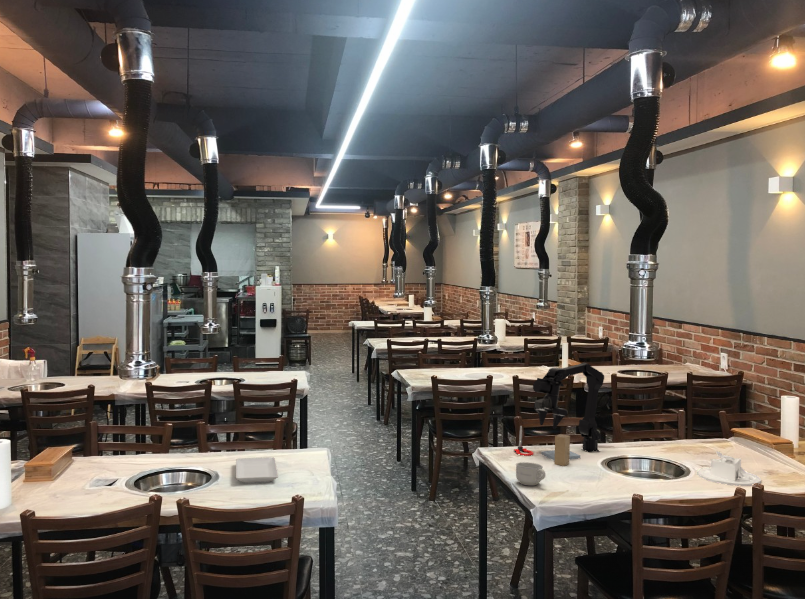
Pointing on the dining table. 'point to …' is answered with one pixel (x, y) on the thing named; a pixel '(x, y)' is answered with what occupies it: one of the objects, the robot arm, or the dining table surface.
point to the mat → (552, 455)
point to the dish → (728, 472)
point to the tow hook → (522, 447)
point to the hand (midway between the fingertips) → (547, 426)
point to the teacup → (529, 473)
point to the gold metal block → (562, 449)
